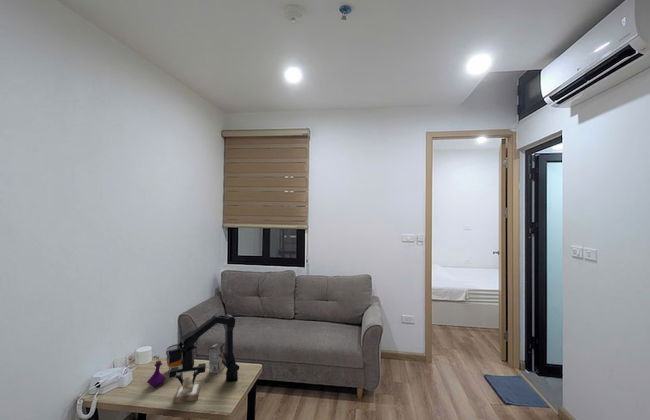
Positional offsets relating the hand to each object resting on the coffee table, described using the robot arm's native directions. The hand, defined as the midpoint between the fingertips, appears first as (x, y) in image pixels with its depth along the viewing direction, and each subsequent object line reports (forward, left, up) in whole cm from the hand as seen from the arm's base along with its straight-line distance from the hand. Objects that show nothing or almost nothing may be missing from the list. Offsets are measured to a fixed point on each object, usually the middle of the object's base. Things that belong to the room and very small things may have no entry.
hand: (188, 385), depth 173 cm
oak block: (0, 0, -3) cm, 3 cm away
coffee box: (-14, -26, -6) cm, 30 cm away
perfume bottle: (+20, -17, -6) cm, 27 cm away
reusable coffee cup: (+12, -33, -6) cm, 36 cm away
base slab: (0, 0, -6) cm, 6 cm away
